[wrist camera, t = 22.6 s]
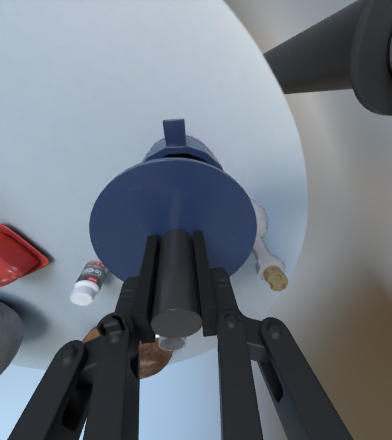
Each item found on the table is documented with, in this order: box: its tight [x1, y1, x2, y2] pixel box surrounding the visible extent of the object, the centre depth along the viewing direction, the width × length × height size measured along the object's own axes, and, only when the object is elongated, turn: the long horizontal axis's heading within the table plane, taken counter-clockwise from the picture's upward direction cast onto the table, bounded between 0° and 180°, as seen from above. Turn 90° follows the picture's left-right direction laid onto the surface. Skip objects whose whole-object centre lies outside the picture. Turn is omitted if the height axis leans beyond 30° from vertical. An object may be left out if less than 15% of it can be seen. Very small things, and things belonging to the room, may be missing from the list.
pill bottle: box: [70, 260, 108, 306], centre depth 39 cm, size 5×5×8 cm
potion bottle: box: [250, 199, 288, 291], centre depth 31 cm, size 9×9×18 cm
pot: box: [142, 119, 223, 171], centre depth 29 cm, size 13×18×10 cm
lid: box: [89, 158, 257, 338], centre depth 13 cm, size 14×14×8 cm
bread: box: [82, 327, 173, 379], centre depth 56 cm, size 26×27×10 cm
